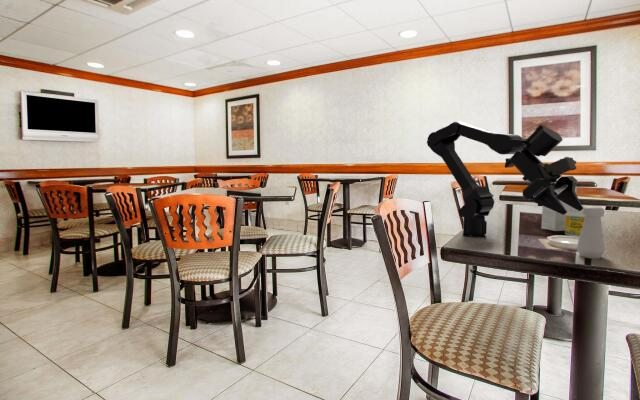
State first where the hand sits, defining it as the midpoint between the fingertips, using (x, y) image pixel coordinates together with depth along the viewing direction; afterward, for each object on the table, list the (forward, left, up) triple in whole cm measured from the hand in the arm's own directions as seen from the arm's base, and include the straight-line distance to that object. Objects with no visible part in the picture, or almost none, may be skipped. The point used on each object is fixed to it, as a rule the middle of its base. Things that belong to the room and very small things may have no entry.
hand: (573, 211), depth 95 cm
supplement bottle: (+7, +25, -11) cm, 28 cm away
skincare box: (+4, +33, -11) cm, 35 cm away
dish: (+2, +9, -11) cm, 14 cm away
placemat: (+2, +9, -11) cm, 14 cm away
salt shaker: (+3, -3, -11) cm, 12 cm away
